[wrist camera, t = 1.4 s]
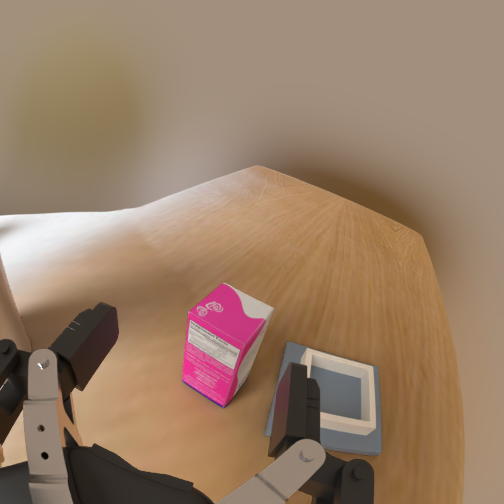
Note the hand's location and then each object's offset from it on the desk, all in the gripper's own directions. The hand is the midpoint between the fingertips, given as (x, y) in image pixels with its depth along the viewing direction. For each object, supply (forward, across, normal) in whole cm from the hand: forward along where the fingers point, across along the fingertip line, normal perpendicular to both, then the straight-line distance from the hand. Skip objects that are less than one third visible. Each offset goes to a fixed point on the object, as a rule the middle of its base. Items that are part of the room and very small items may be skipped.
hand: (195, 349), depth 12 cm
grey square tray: (+12, -14, +18) cm, 26 cm away
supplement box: (+12, 0, +18) cm, 21 cm away
